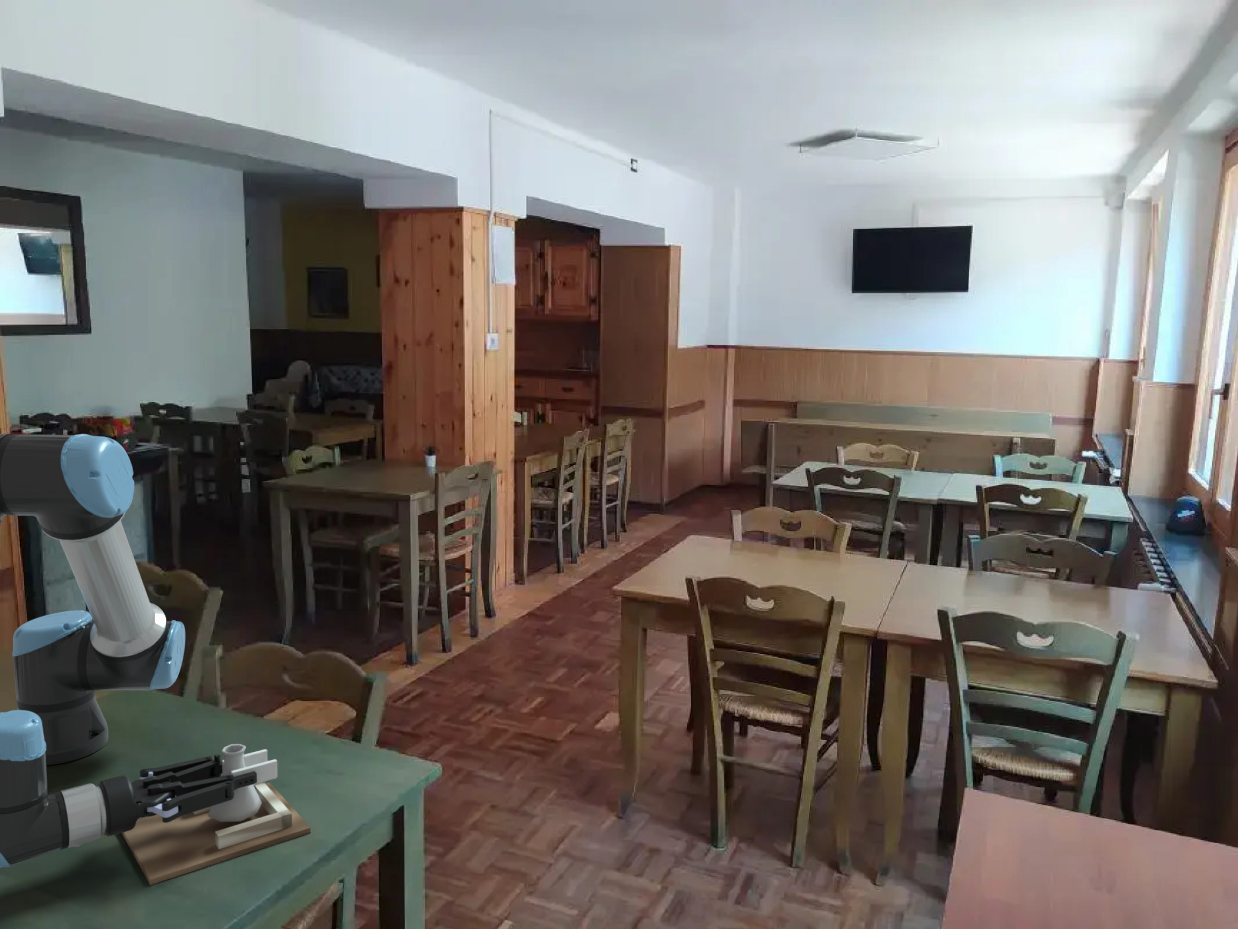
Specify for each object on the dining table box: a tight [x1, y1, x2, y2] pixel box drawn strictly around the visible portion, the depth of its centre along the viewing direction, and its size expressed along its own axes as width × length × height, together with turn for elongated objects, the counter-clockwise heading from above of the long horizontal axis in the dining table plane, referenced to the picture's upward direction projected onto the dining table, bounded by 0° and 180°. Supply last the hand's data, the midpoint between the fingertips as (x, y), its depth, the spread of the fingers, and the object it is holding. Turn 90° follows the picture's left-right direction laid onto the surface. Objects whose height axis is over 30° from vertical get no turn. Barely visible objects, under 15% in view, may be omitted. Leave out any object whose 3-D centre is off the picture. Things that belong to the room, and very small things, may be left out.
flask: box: [208, 743, 262, 822], centre depth 141 cm, size 7×7×10 cm
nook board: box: [121, 781, 311, 886], centre depth 140 cm, size 17×22×3 cm
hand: (271, 763), depth 144 cm, fingers closed on flask, 3 cm apart
